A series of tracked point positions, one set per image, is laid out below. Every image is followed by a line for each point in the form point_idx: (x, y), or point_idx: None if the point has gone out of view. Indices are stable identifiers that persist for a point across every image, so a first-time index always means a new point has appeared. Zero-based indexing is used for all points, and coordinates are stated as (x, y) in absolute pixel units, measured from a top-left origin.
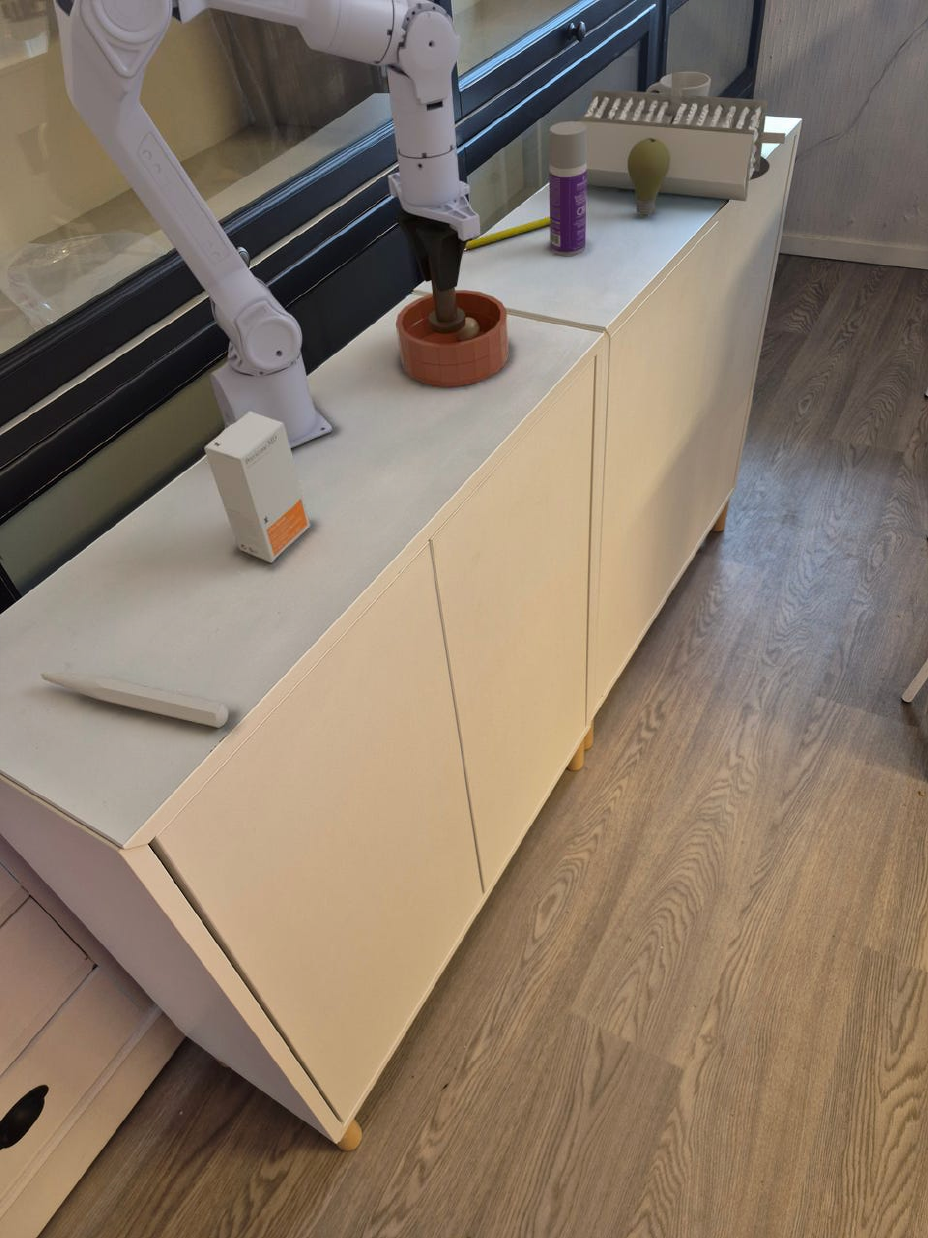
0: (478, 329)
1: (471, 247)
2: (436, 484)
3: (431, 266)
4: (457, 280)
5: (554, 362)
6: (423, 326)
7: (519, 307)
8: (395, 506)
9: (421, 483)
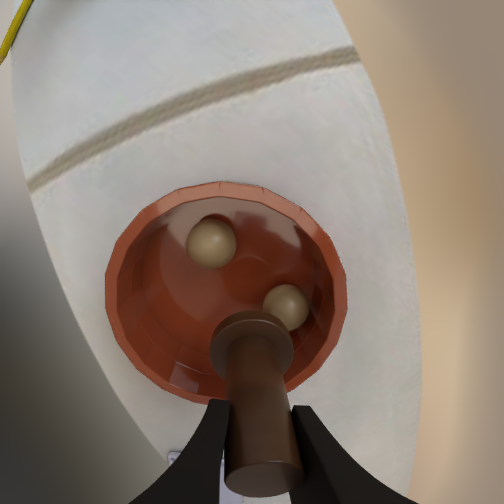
0: (232, 233)
1: (6, 54)
2: (400, 427)
3: (291, 500)
4: (317, 416)
5: (373, 176)
6: (135, 288)
7: (184, 82)
8: (384, 456)
9: (387, 436)
